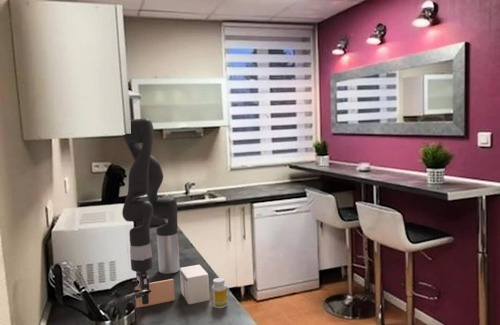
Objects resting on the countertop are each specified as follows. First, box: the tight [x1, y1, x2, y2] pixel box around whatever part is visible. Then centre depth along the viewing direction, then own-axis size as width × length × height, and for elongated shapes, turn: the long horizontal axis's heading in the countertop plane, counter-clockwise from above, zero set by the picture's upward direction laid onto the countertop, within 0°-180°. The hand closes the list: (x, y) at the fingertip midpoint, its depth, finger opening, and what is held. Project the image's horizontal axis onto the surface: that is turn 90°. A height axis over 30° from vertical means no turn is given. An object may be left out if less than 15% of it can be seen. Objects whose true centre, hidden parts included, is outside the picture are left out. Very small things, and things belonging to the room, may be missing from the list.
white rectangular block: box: [178, 264, 211, 305], centre depth 162 cm, size 12×8×10 cm
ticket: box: [134, 278, 176, 308], centre depth 156 cm, size 1×14×8 cm, turn 112°
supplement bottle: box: [211, 277, 228, 309], centre depth 153 cm, size 5×5×10 cm
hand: (144, 300), depth 155 cm, fingers open, 6 cm apart
